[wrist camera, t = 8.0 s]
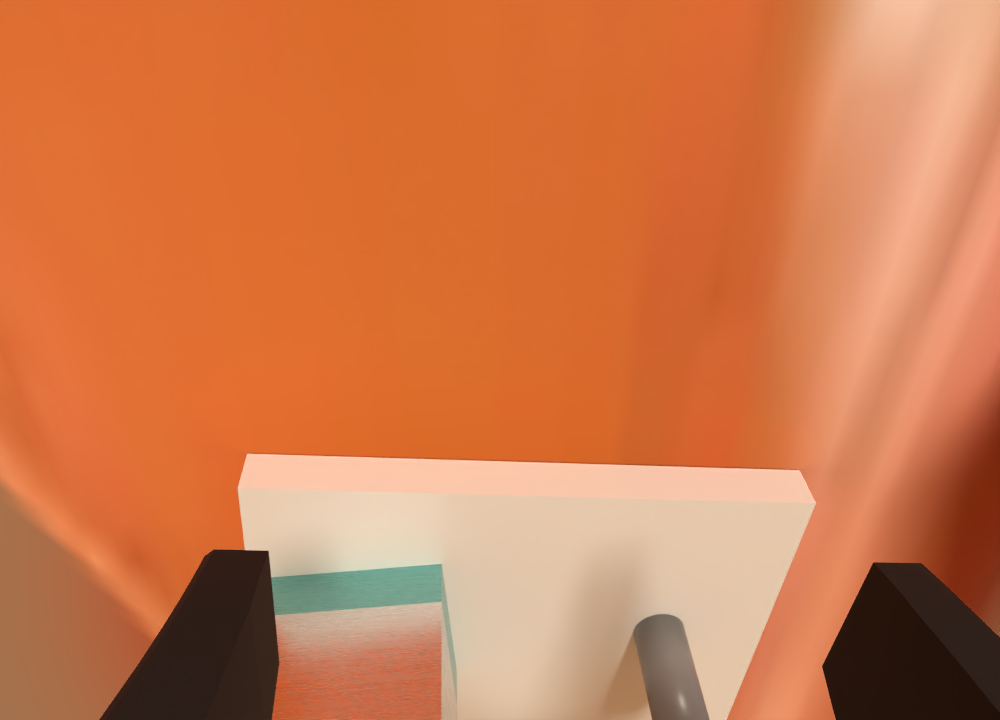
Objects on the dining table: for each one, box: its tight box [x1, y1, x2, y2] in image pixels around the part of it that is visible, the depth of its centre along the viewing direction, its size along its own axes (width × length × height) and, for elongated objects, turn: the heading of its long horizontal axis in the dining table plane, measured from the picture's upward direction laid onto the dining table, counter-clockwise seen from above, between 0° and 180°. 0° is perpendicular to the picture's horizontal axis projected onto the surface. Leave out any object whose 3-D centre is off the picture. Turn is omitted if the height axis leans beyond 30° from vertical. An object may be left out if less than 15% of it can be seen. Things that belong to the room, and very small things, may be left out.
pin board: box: [238, 454, 816, 720], centre depth 23 cm, size 14×10×4 cm
